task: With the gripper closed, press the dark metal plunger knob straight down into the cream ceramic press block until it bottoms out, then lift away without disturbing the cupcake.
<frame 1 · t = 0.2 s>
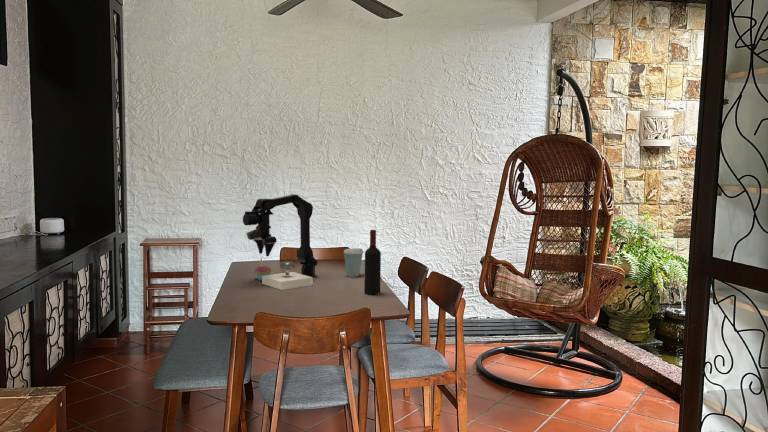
hand: (264, 255, 315), 14 cm above the table, fingers open, 9 cm apart
plunger: (287, 268, 313), point 8 cm above the table, slide at 0.0 cm
wine bottle: (372, 293, 296), on the table
press block: (287, 284, 313), on the table
cupcake: (262, 279, 326), on the table
disposable coffee cup: (353, 276, 338), on the table
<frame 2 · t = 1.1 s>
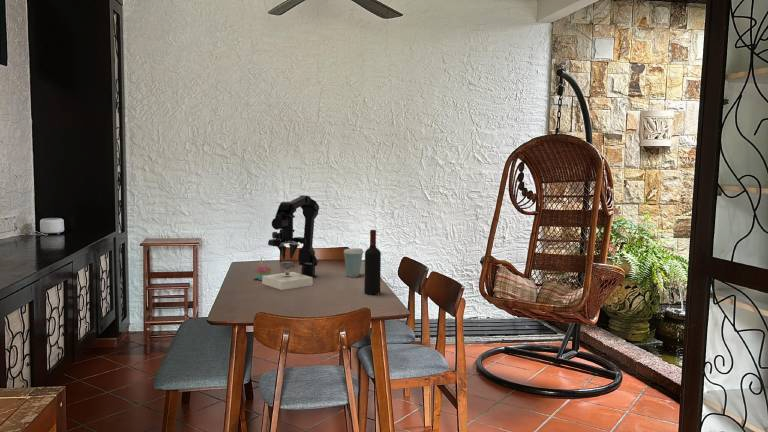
hand: (287, 258, 312), 13 cm above the table, fingers open, 4 cm apart
nothing on the table moved.
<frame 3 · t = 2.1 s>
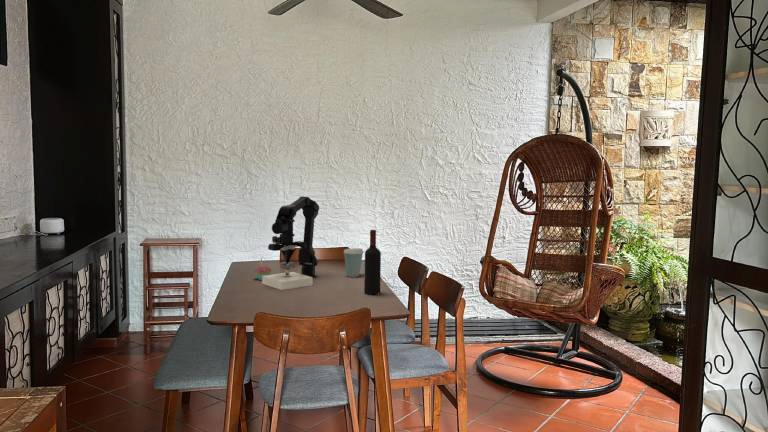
hand: (287, 263, 312), 11 cm above the table, fingers closed, pressing on plunger
plunger: (287, 269, 313), point 8 cm above the table, slide at 0.1 cm, touching gripper
everything else where it was.
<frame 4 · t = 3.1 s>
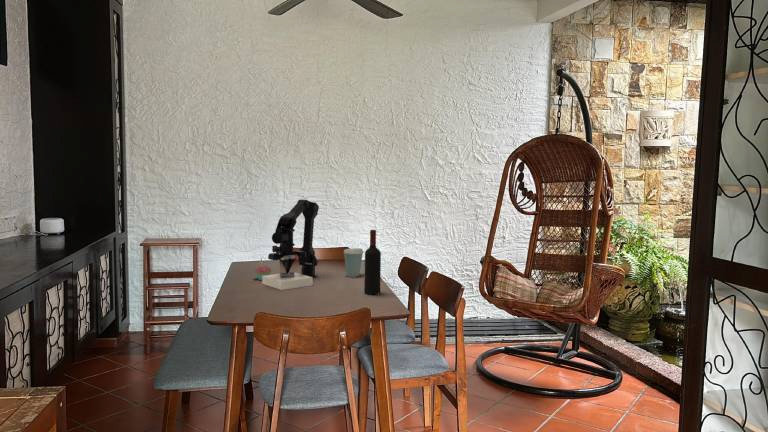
hand: (287, 272, 313), 6 cm above the table, fingers closed, pressing on plunger
plunger: (287, 278, 313), point 3 cm above the table, slide at 4.9 cm, touching gripper
everything else where it was.
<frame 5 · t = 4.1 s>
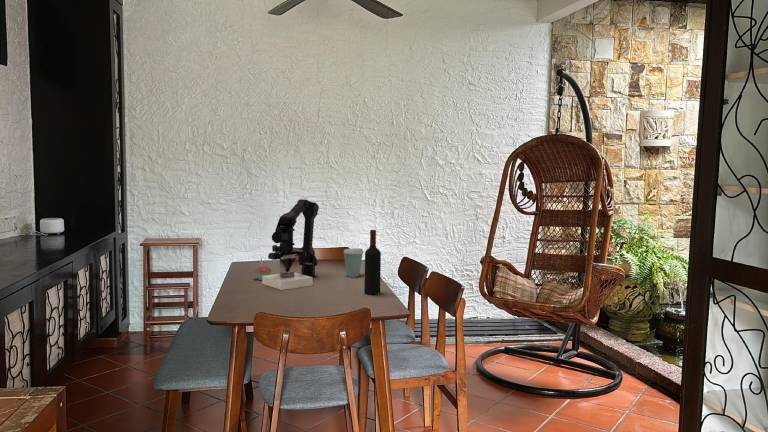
hand: (287, 272, 313), 6 cm above the table, fingers closed
plunger: (287, 278, 313), point 3 cm above the table, slide at 4.9 cm
everything else where it was.
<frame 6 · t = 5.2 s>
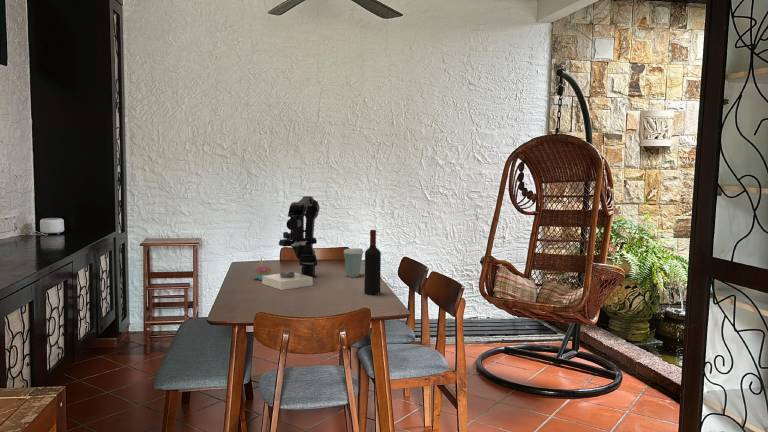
hand: (298, 258, 314), 13 cm above the table, fingers closed
nothing on the table moved.
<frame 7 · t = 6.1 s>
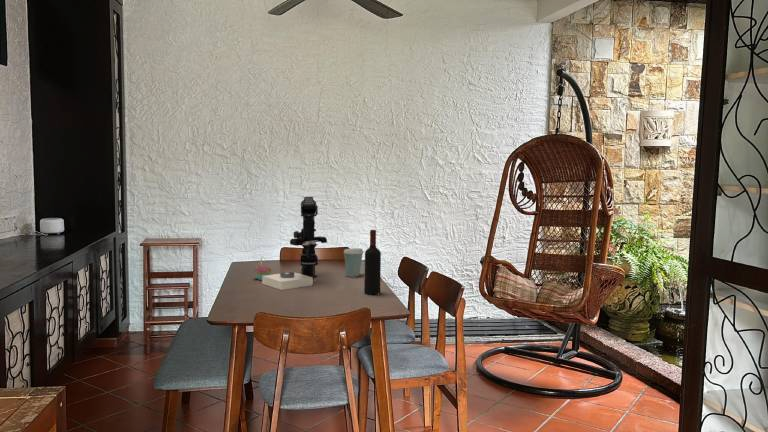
hand: (308, 257, 316), 13 cm above the table, fingers closed
nothing on the table moved.
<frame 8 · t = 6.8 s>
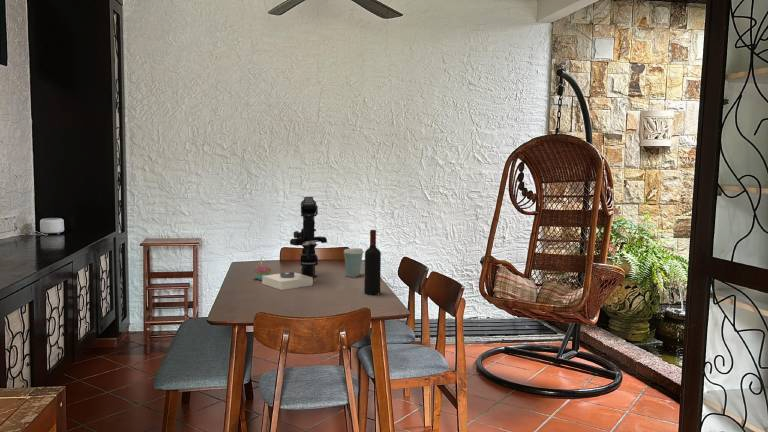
hand: (308, 257, 316), 13 cm above the table, fingers closed
nothing on the table moved.
at the end: plunger slide at 4.9 cm; cupcake moved 0.2 cm from its start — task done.
